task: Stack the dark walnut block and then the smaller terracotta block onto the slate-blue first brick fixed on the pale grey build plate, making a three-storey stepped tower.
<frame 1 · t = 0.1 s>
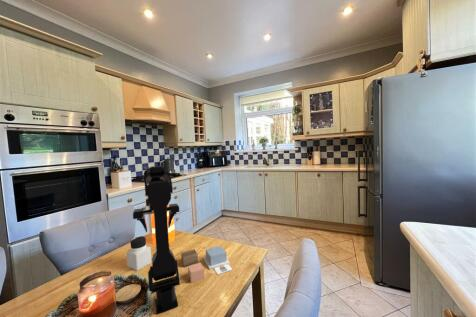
hand: (158, 229, 90), 15 cm above the table, fingers open, 9 cm apart
medicine bottle: (139, 265, 89), on the table
terracotta brick: (196, 277, 79), on the table
instruction card: (223, 269, 83), on the table
walnut brick: (189, 262, 90), on the table
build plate: (216, 261, 89), on the table
orange juice: (164, 241, 112), on the table
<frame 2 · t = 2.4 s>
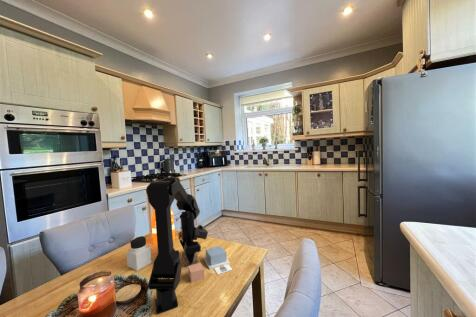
hand: (189, 259, 90), 1 cm above the table, fingers closed on walnut brick, 6 cm apart
walnut brick: (189, 262, 90), on the table, touching gripper
everything else where it was.
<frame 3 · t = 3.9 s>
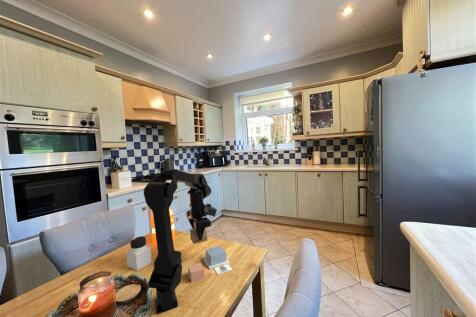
hand: (198, 237, 89), 11 cm above the table, fingers closed on walnut brick, 6 cm apart
walnut brick: (198, 239, 89), point 10 cm above the table, touching gripper
everything else where it was.
when the fingers open (7 cm above the table, at t = 5.7 s): walnut brick stays where it is, resting on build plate.
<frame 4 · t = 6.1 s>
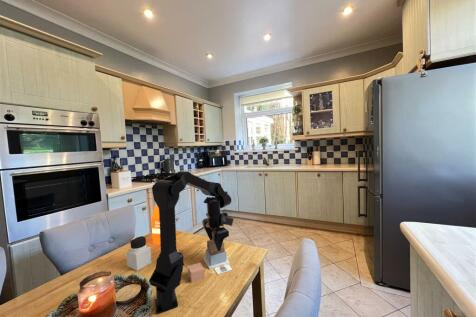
hand: (215, 246, 89), 7 cm above the table, fingers open, 9 cm apart
walnut brick: (215, 250, 89), point 5 cm above the table, touching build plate
everything else where it was.
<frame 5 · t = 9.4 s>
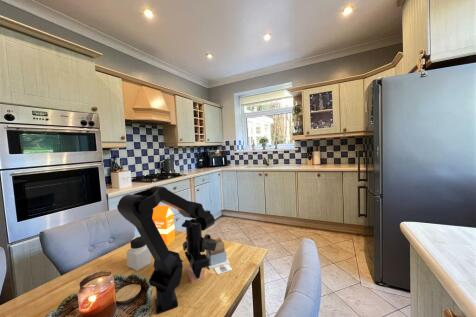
hand: (196, 274, 79), 1 cm above the table, fingers closed on terracotta brick, 5 cm apart
terracotta brick: (196, 277, 79), on the table, touching gripper
everything else where it was.
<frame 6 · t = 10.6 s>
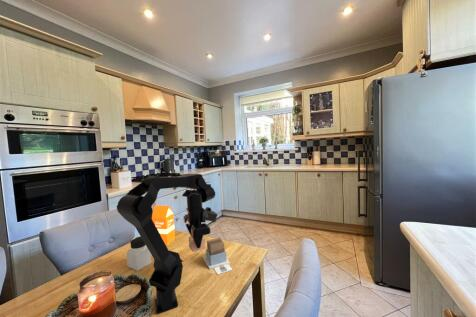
hand: (197, 245, 79), 12 cm above the table, fingers closed on terracotta brick, 5 cm apart
terracotta brick: (197, 247, 79), point 11 cm above the table, touching gripper
everything else where it was.
when the fingers open (11 cm above the table, at t = 11.9 s): terracotta brick stays where it is, resting on walnut brick.
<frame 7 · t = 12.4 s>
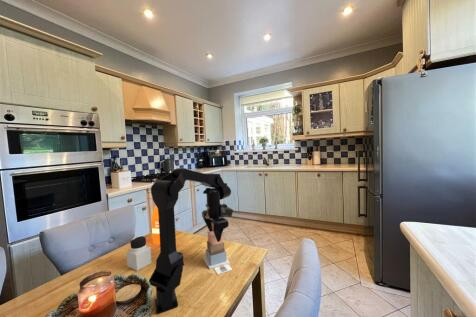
hand: (215, 237, 89), 11 cm above the table, fingers open, 9 cm apart
terracotta brick: (215, 241, 89), point 9 cm above the table, touching walnut brick
walnut brick: (215, 250, 89), point 5 cm above the table, touching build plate, terracotta brick
everything else where it was.
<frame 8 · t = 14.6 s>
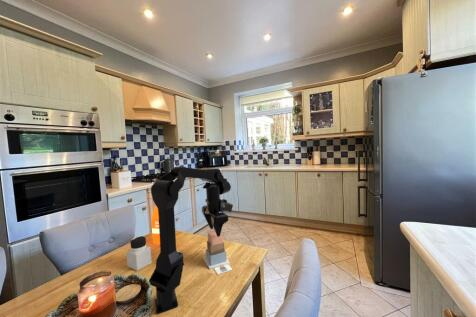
hand: (214, 232, 89), 13 cm above the table, fingers open, 9 cm apart
nothing on the table moved.
at the end: walnut brick 0.0 cm off-centre on the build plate, point 4.8 cm above the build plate's base; terracotta brick 0.1 cm off-centre on the walnut brick, point 4.0 cm above the walnut brick's base; terracotta brick tilted 0° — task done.
